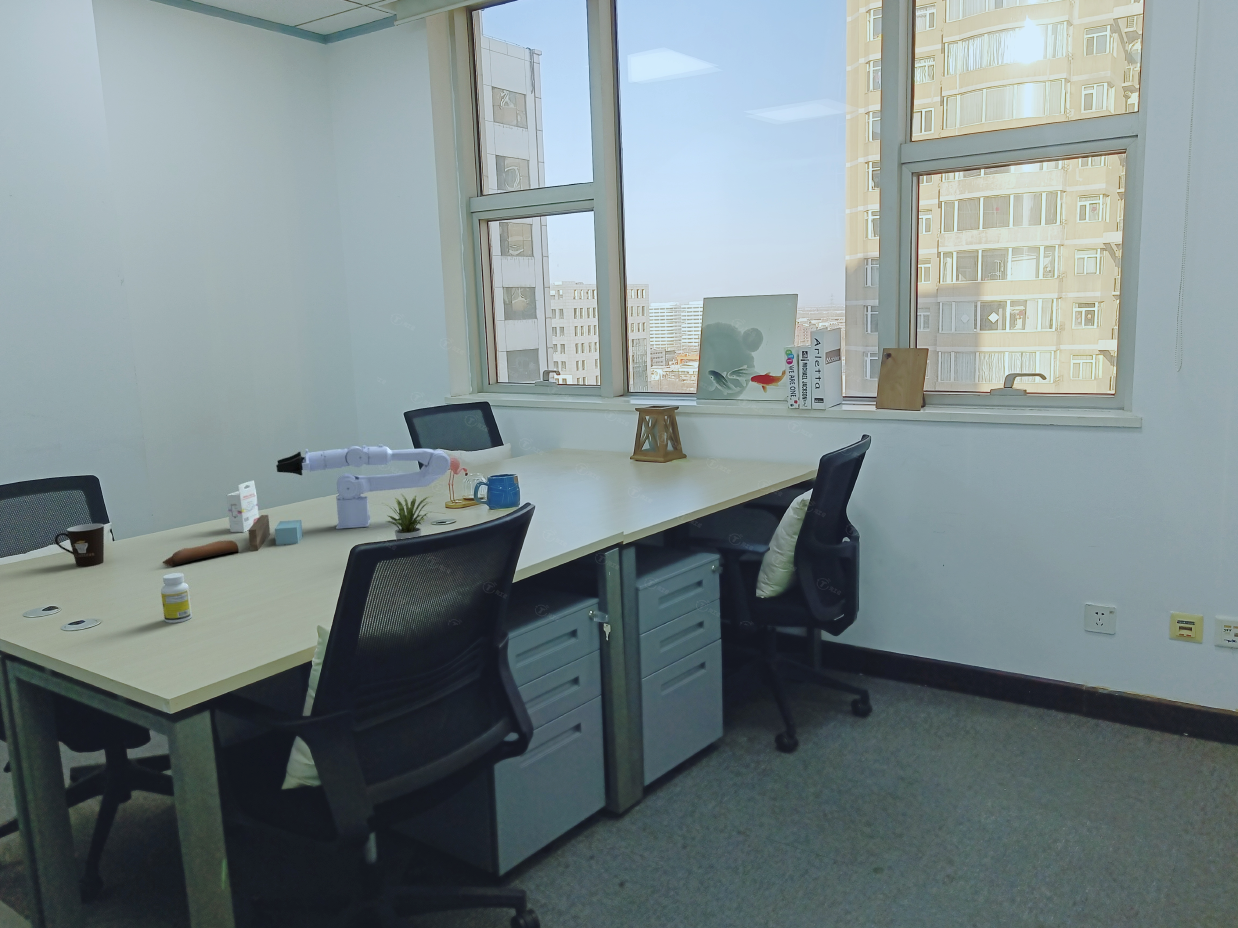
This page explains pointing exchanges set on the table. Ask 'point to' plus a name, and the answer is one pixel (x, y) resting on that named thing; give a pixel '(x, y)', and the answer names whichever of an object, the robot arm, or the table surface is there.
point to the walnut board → (259, 532)
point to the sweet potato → (201, 552)
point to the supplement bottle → (176, 598)
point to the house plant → (407, 519)
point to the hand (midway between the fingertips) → (277, 466)
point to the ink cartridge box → (242, 507)
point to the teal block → (288, 532)
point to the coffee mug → (86, 544)
